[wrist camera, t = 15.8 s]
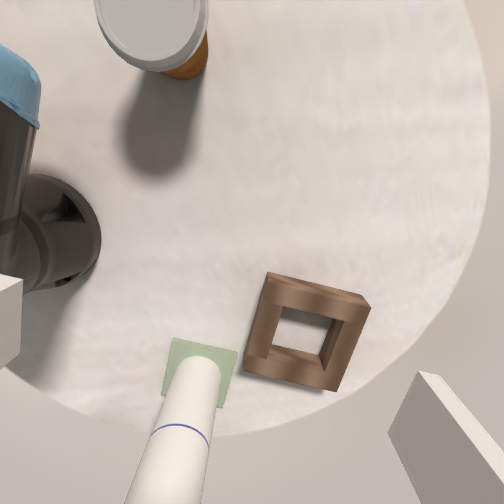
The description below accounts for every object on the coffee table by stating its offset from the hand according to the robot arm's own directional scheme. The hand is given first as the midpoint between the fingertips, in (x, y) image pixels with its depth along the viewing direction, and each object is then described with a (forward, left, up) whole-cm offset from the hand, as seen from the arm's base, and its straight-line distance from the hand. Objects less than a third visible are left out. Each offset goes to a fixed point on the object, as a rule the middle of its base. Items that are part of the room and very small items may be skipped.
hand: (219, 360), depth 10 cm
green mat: (-1, -27, -33) cm, 42 cm away
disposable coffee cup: (-12, +16, -33) cm, 38 cm away
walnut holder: (+12, -15, -33) cm, 38 cm away
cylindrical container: (-1, -27, -32) cm, 42 cm away
